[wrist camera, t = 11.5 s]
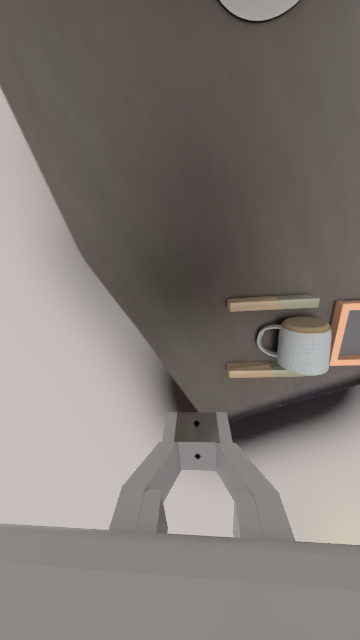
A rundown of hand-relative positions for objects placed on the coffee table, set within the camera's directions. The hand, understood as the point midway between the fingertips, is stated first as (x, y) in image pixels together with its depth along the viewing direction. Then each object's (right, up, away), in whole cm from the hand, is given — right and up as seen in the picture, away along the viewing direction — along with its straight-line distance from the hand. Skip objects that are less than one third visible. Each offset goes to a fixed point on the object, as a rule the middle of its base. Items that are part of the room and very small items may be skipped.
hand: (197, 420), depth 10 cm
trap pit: (+32, +3, +25) cm, 40 cm away
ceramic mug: (+19, +2, +26) cm, 33 cm away
